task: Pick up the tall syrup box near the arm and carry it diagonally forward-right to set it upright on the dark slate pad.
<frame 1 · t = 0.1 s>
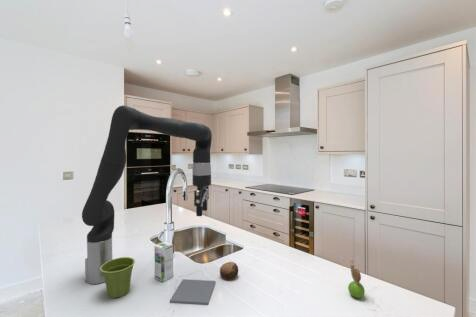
hand: (202, 213, 94), 29 cm above the worktop, fingers open, 8 cm apart
syrup box: (163, 278, 99), on the worktop
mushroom: (229, 277, 100), on the worktop
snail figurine: (355, 296, 86), on the worktop
slate pad: (194, 292, 89), on the worktop
plant pot: (118, 293, 89), on the worktop
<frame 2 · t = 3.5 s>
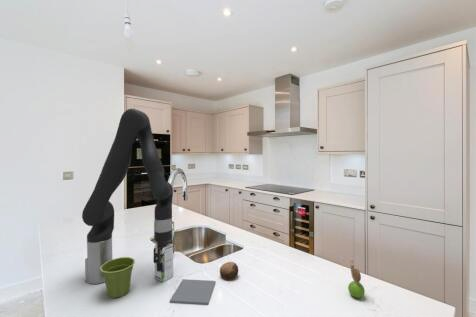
hand: (163, 266, 99), 5 cm above the worktop, fingers closed on syrup box, 7 cm apart
syrup box: (163, 278, 99), on the worktop, touching gripper
everything else where it was.
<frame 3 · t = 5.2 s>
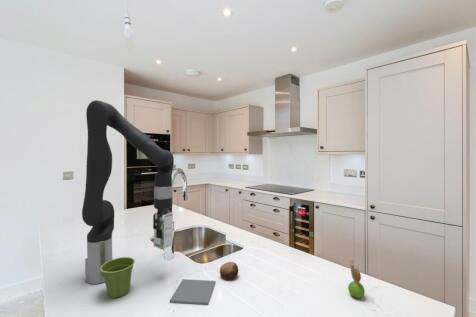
hand: (163, 234, 99), 19 cm above the worktop, fingers closed on syrup box, 7 cm apart
syrup box: (163, 246, 99), point 14 cm above the worktop, touching gripper
everything else where it was.
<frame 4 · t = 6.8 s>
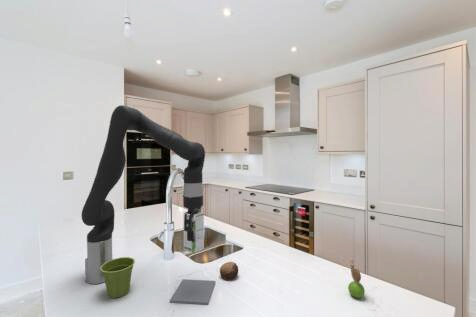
hand: (193, 236, 88), 22 cm above the worktop, fingers closed on syrup box, 7 cm apart
syrup box: (193, 249, 88), point 16 cm above the worktop, touching gripper
everything else where it was.
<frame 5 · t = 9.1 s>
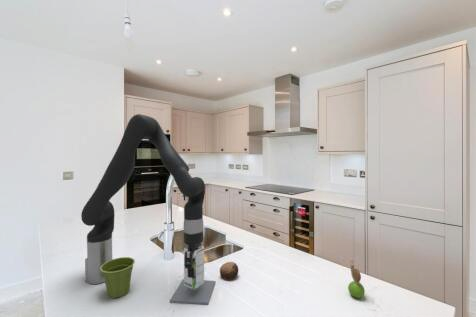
hand: (193, 271, 89), 8 cm above the worktop, fingers closed on syrup box, 7 cm apart
syrup box: (194, 284, 89), point 3 cm above the worktop, touching gripper
everything else where it was.
when the fingers open (7 cm above the worktop, at t = 10.6 s): syrup box moves 1 cm, resting on slate pad.
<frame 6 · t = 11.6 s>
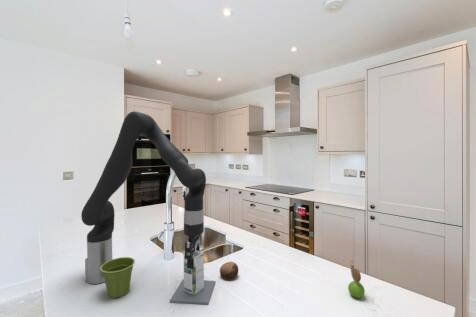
hand: (193, 262, 89), 12 cm above the worktop, fingers open, 8 cm apart
syrup box: (194, 290, 89), point 1 cm above the worktop, touching slate pad
everything else where it was.
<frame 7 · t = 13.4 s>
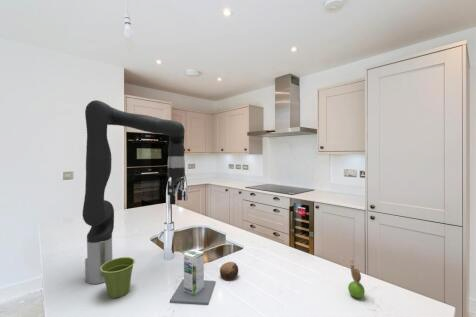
hand: (176, 202, 104), 32 cm above the worktop, fingers open, 8 cm apart
nothing on the worktop moved.
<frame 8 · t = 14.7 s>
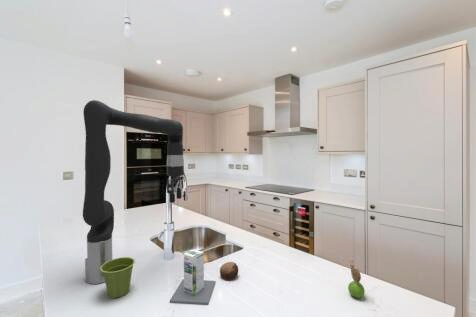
hand: (175, 200, 105), 32 cm above the worktop, fingers open, 8 cm apart
nothing on the worktop moved.
at the end: syrup box inside the target area on the slate pad (0.4 cm from its centre), point 0.6 cm above the slate pad's base; syrup box tilted 0°; the gripper is holding nothing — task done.
